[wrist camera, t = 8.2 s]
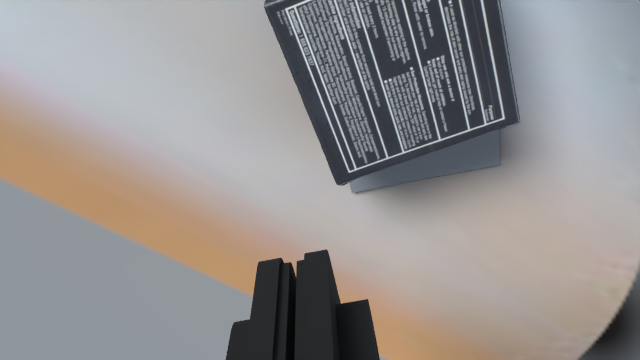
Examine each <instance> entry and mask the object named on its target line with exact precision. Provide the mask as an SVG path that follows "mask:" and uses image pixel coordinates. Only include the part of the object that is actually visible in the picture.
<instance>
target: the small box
mask: <svg viewBox="0 0 640 360" xmlns="http://www.w3.org/2000/svg"><path fill="white" fill-rule="evenodd" d="M264 8H265V11H266V14H267V16H268V18H269V21H270V23H271V25H272V27H273V30H274V32H275V35H276V37H277V40H278V42H279V44H280V47H281V49H282V52H283V54H284V57H285V59H286V61H287V64H288V66H289V69H290V71H291V73H292V76H293V78H294V81H295V83H296V85H297V87H298V90H299V93H300V95H301V98H302V100H303V103H304V105H305V108H306V110H307V113H308V115H309V117H310V120H311V122H312V125H313V127H314V130H315V132H316V135H317V137H318V139H319V142H320V144H321V147H322V149H323V152H324V154H325V157H326V159H327V161H328V164H329V167H330V170H331V172H332V175H333V177H334V179H335V182H336V184H337V185H345V184H347V183H349V182H352V181H353V180H355V179H357V178H360V177H362V176H365V175H368V174H371V173H374V172H377V171H380V170H383V169H386V168H388V167H391V166H394V165H397V164H400V163H403V162H406V161H409V160H412V159H415V158H417V157H420V156H423V155H426V154H428V153H431V152H434V151H437V150H440V149H443V148H445V147H449V146H451V145H454V144H457V143H460V142H463V141H466V140H468V139H472V138H474V137H477V136H480V135H483V134H486V133H488V132H491V131H494V130H497V129H502V128H505V127H509V126H513V125H516V124H518V123H519V122H520V117H519V111H518V106H517V99H516V93H515V87H514V81H513V76H512V70H511V64H510V58H509V52H508V45H507V40H506V33H505V28H504V21H503V16H502V10H501V4H500V0H265V3H264Z"/></svg>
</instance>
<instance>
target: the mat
mask: <svg viewBox="0 0 640 360" xmlns="http://www.w3.org/2000/svg"><path fill="white" fill-rule="evenodd" d="M497 165H500V137H499V129H497V130H494V131H491V132H488V133H486V134H483V135H480V136H477V137H474V138H472V139H468V140H466V141H463V142H460V143H457V144H454V145H451V146H449V147H445V148H443V149H440V150H437V151H434V152H431V153H428V154H426V155H423V156H420V157H417V158H415V159H412V160H409V161H406V162H403V163H400V164H397V165H394V166H391V167H388V168H386V169H383V170H380V171H377V172H374V173H371V174H368V175H365V176H362V177H360V178H357V179H355V180H353V181H352V182H350V185H351V191H352V193H354V192H359V191H364V190H370V189H375V188H380V187H385V186H391V185H396V184H401V183H407V182H412V181H417V180H423V179H428V178H433V177H438V176H444V175H449V174H454V173H460V172H465V171H470V170H476V169H481V168H486V167H491V166H497Z"/></svg>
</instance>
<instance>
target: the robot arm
mask: <svg viewBox="0 0 640 360" xmlns="http://www.w3.org/2000/svg"><path fill="white" fill-rule="evenodd" d="M226 360H380V359H379V353H378V348H377V342H376V337H375V332H374V326H373V321H372V316H371V311H370V306H369V302H368V299H366V300H361V301H355V302H349V303H343V304H341V303H340V299H339V295H338V291H337V286H336V282H335V278H334V274H333V270H332V266H331V262H330V257H329V253H328V250H322V251H316V252H311V253H305V256H304V260H300V261H297V275H296V276H295V273H294V269H293V266H292V264H291V262H289V263H284V262H283V260H282V258H277V259H272V260H266V261H261V262H259V263H258V266H257V273H256V280H255V287H254V295H253V302H252V309H251V316H250V320H244V321H239V322H235V323H234V324H233V326H232V330H231V334H230V340H229V345H228V351H227V356H226Z"/></svg>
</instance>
